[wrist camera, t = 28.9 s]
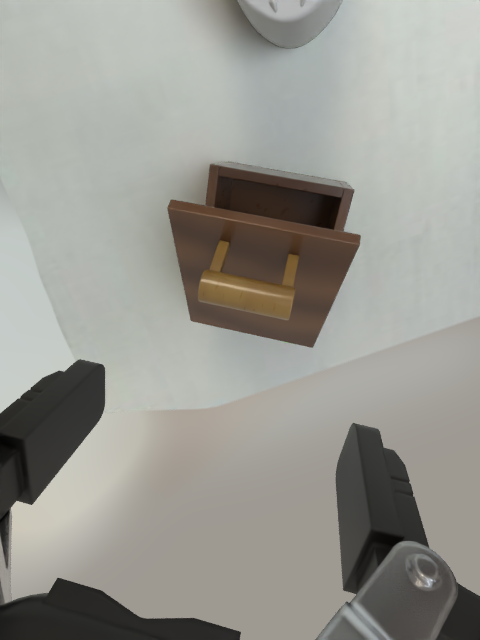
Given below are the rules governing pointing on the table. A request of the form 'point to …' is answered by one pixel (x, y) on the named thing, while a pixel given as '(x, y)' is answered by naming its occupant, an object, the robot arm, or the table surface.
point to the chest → (279, 195)
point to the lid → (259, 271)
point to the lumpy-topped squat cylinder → (289, 19)
